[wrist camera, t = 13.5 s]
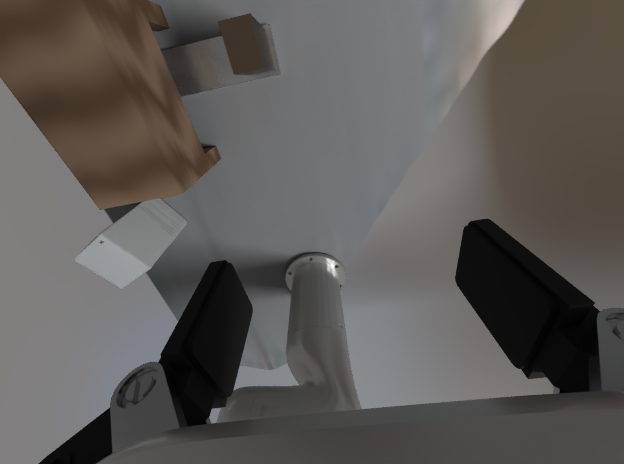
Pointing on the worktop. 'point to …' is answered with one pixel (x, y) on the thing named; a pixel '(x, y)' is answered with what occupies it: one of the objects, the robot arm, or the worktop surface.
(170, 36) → the worktop surface
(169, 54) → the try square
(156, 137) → the cabinet
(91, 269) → the supplement box
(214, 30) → the worktop surface
